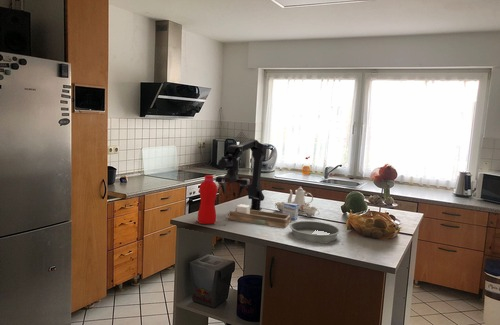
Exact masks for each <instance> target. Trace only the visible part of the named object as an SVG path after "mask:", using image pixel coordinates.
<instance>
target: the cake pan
mask: <svg viewBox="0 0 500 325" xmlns="http://www.w3.org/2000/svg"><path fill="white" fill-rule="evenodd" d="M289 228H290V230H291V232H292V236H293V237H294V236H295V237H294V238H296V239H298V238H299V239H298V240H301V241H304V240H305V241H306V242H309V243H316V242H327V243H332V242H334V240H335V239H337V237H338V234H340V232H341V230H340V228H339V227H337V226H335V225H333V224H329V223H325V222H321V221H313V220H312V221H311V220H303V221H295V222H292V223H289ZM315 230H316V231H317V230H318V231H324V232H327V233H330V234H329V235H317V234H312V233H313V232H314V231H315ZM331 241H332V242H331ZM335 241H336V240H335Z"/></svg>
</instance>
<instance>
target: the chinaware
mask: <svg viewBox="0 0 500 325" xmlns="http://www.w3.org/2000/svg"><path fill="white" fill-rule="evenodd" d="M308 195H310V196H311V201H309V202H308V201H307V202H306V200H305V197H306V196H308ZM292 198H293V190H292V189H289V195H288V198H287V203H293V204H298V205H299V208H298V215H299V214H301V215H303V214H305V215H306V217H307V218H312V217H315V216H318V215H320V213H318V214H316V212H318V208H316V206H310V204H311V203H312V202H313V201H314V197H313V195H312V193H310V192H306V190H304V189H303V188H302V186H299V188H297V189H295V196H294V200H292ZM284 203H286V202H284V201H281V202H280V201H276V202H275V204H274V206H275V208H276V209H277V210H278V211H279V213H283V205H284Z"/></svg>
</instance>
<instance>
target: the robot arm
mask: <svg viewBox="0 0 500 325" xmlns="http://www.w3.org/2000/svg"><path fill="white" fill-rule="evenodd" d="M247 150H250V151H251V155H252V157H253V167H252V178H251V179H250V178H245V177H244V178H241V179H240V177H239V172H240V168H239V167H240V166H239V165H240V161H241V160H242V158H241V157H240V156H242V155H243V153H244V152H246V151H247ZM266 153H267V148H266V146H265V145H264V144H262V143H261V142H259V141H258V140H257V139H248V140H246V141H244V142H242V143H239V144H230V145H228V146H227V148H226V151H225V152H224V155H223V156H221V158H220V159H219V160H218V163H217V164H218V168H219V170H227V172H226V174H225V175H218V176H216V177H215V179H214V180H215V182H214V183H216V182H217V184H219V185H220V187H221V190H222V193H223V196H225V195H226V191H227V184H233V183H238V184H239V185H238V186H239V190H238V192H239V193H238V197H240V198H241V195H242V193H243V191H244V189H245V187H247V191H246V192H247V197H248V199H249V200H251V204H250V210H257V211H262V207H261V203H262V202H263V201H264V200H265V195H264V193H263V187H262V185H261V175H262V168H263V167H262V165H263V161H264V158H265V157H266Z"/></svg>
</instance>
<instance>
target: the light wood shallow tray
mask: <svg viewBox="0 0 500 325" xmlns="http://www.w3.org/2000/svg"><path fill="white" fill-rule="evenodd" d="M228 213H229V214H228V217H227V218H228V220H230V221H236V222H237V221H238V222H243V223H244V222H245V223H251V224H257V225H262V226H271V227H277V228H282V229H284V228H285V229H286V228H287V227H288V226H289V225H290V224H291V222H292V220H291V215H285V214H283V213H276V212H269V211H262V210H259V211H257V210H250V214H246V213H239V212H236V210H235V211H233V210H232V211H231V210H229V212H228Z"/></svg>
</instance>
